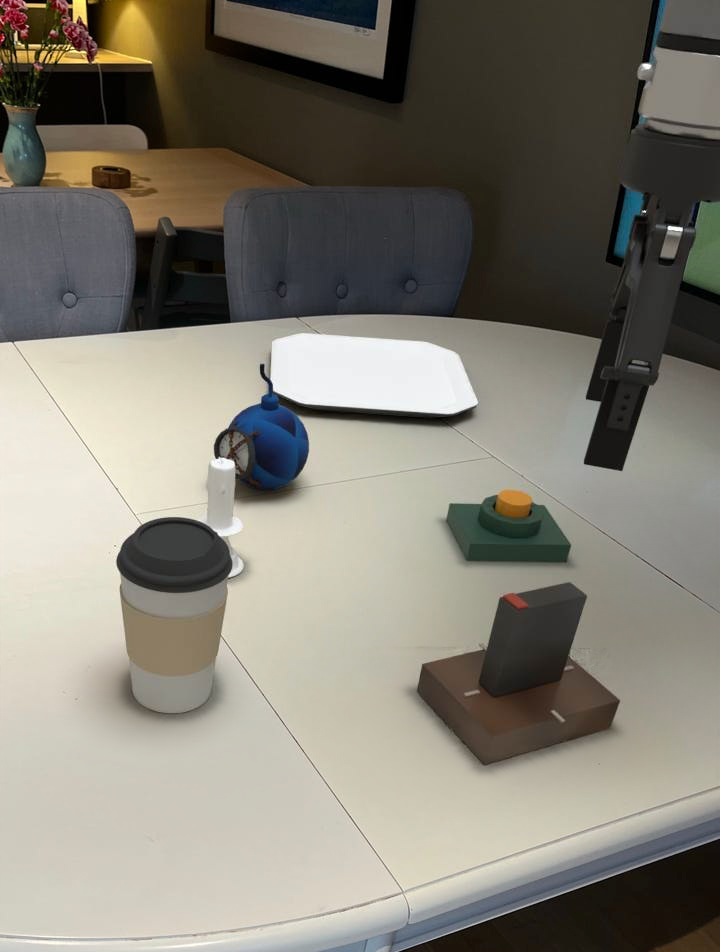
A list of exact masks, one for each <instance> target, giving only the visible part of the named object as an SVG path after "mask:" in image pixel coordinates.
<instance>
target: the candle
mask: <svg viewBox="0 0 720 952" xmlns="http://www.w3.org/2000/svg"><path fill="white" fill-rule="evenodd" d="M205 487H206V491H207V507H206V508H207V511H206V514H204V515H202V516H200V517H199V518H198V519H196V520H197V521H200V522H202V523H204V524H206V525H208V526H209V527H210V528H212V529H213V530H214V531H215V532H217V534H218V535H219V536H220V537H221V538H222V539H223V540H224V541H225V542H226V544H227V545H228V547H229V551H230V556H231V558H232V563H233V566H232V570H231V572H230V574H229V575H228V579H230V578H234V577H236V576H238V575H239V574H241V573H242V571H243V570H244V566H245V563H244V561H243V559H242V558H240V556H238V552H237V550H236V548H235V547H233V546H232V544H231V542H230V538H229V537H232V536H236V535H238V534H239V533H240V532H241V531H242V530H243V529H244V524H243V521H242V520H241V519H239V518H238V517H236V516H235V515H234V504H235V488H236V479H235V463H234V461H233V460H228V459H225V458H220V457H219V459H216V458H214V459H213V460H210V461H209V463H208V468H207V477H206V480H205Z"/></svg>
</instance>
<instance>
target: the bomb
mask: <svg viewBox="0 0 720 952" xmlns="http://www.w3.org/2000/svg"><path fill="white" fill-rule="evenodd" d="M259 375H260V377H261V379H262V380H263V381H265V382H266V383H267V385H268V393H265V394H263V395H262V396H261V398H260V402H259V403H256V404H254V405H250V406H248V407H246V408H244V409H242V410H241V411H239V413H238V414H236V415H235V416H234V418H233V419H232V421H230V423H229V425H228V427H226V428H225V429H224V430H222V431H220V432H219V434H218V435H217V437H216V438H215V441H214V445H213V455H214V459H219V457H220V458H225V459H228V460H233V461H234V463H235V480H237V481H240V482H241V483H242V484H244V485H245V486H247V487H250V488H252V489H255V490H262V491H273V490H276V489H279V488H283V487H286V486H287V485H289V484H290V483H292V482H293V481H294V480H295V479H296V478H297V477H298V476H299V475H300V474H301V473H302V471H303V470H304V469H305V466H306V464H307V461H308V458H309V454H310V440H309V434H308V432H307V429H306V426H305V425H304V423H303V421H302V420H301V419H300V418H299V416H298V415H297V414H296V413H295V412H293V411H292V410H291V409H289V408H287V407H286V406H283V405H280V398H279V396H278V395H276V394H274V393H273V384H272V381H271V380H270V377H268V376H267V375H266V373H265V363H260V364H259Z"/></svg>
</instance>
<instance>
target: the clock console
mask: <svg viewBox="0 0 720 952" xmlns="http://www.w3.org/2000/svg"><path fill="white" fill-rule="evenodd" d="M478 646H479V647H480V648H482V649H479V650H474V651H470V652H465V653H462V654H458V655H453V656H449V657H445V658H441V659H437V660H433V661H428V662H424V663H422V664H421V668H420V673H419V678H418V682H417V688H416V692H417V693H418V695H419V696H420V697H421V698H422V699H423V700H424V701H425V703H427V704H428V705H429V707H430V708H431V709H432V710H433V711H434V712H435V713H436V714H437V715H438V716H439V718H440V719H441V720H442V721H443V722H444V723H445V724H446V725H447V726H448V727H449V728H450V729H451V730H452V731H453V733H454V734H455V735H456V736H457V737H458V739H460V740H461V742H462V743H464V745H465V746H466V747H467V748H468V749H469V750H470V751H471V752H472V753H473V754H474V756H476V758H477V759H478V760H479V761H480V762H481V763H482V764H483V765H488V764H492V763H495V762H498V761H502V760H506V759H509V758H512V757H515V756H519V755H522V754H525V753H529V752H533V751H535V750H539V749H543V748H546V747H549V746H550V747H551V746H553V745H556V744H559V743H560V744H561V743H564V742H567V741H570V740H573V739H577V738H580V737H583V736H587V735H590V734H593V733H594V734H595V733H597V732H601V731H604V730H608V729H610V728H612V725H613V722H614V719H615V716H616V714H617V710H618V708H619V705H620V703H621V699H620V698H618V697H617V696H616V695H615V694H613V692H611V691H610V690H609V689H608V688H607V687H605V685H603V684H602V683H601V682H600V681H599V680H598V679H596V678H595V677H594V676H593V675H592V674H590V673H589V672H588V671H587V670H586V669H584V667H582V666H581V665H580V664H579V663H577V661H575V659H573V658H572V657H571V656H568V659H567V663H566V666H565V669H564V672H563V675H562V679H561V680H558V681H554V682H551V683H547V684H543V685H539V686H536V687H532V688H528V689H524V690H520V691H517V692H513V693H509V694H505V695H502V696H498V697H493V696H492V695H491V694H490V693H489V692H488V691H487V690H486V689H485V688H484V687H483V686H482V685H481V684H480V683H479V678H480V674H481V670H482V666H483V662H484V658H485V654H486V650H487V645H486V644H485V643H483V642H481V643H479V644H478Z"/></svg>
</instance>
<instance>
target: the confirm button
mask: <svg viewBox="0 0 720 952" xmlns="http://www.w3.org/2000/svg"><path fill="white" fill-rule="evenodd" d="M497 495H498V497H497V502H496V506H495V511H496V512H498V513H500V514H501V515H504V516H508V517H511V518H525V517H528V515H529V511H530V508H531V504H532V502H533V498H532V497H531V495H529V494H528V493H525V492H524V491H521V490H516V489H504V490H501V491H499V492H498V493H497Z"/></svg>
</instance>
